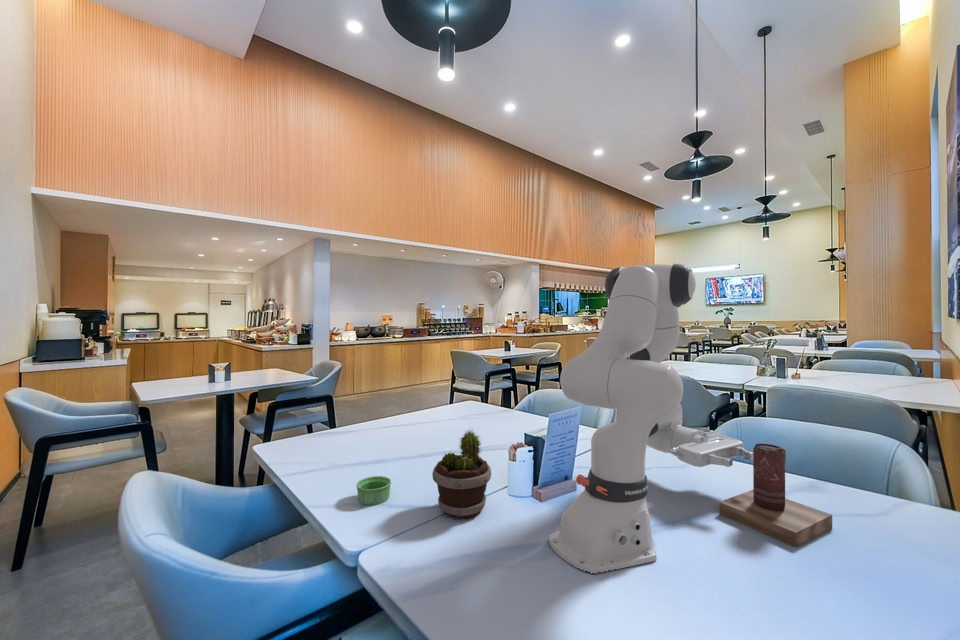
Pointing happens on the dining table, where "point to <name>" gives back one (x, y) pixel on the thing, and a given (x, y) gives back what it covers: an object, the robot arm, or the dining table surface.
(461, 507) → the flowerpot
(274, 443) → the dining table surface
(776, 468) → the can
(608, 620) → the dining table surface
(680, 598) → the dining table surface
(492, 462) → the dining table surface
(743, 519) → the walnut base
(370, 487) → the ramekin
